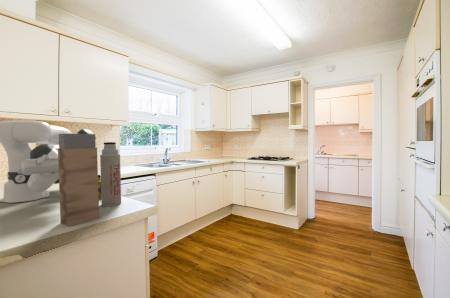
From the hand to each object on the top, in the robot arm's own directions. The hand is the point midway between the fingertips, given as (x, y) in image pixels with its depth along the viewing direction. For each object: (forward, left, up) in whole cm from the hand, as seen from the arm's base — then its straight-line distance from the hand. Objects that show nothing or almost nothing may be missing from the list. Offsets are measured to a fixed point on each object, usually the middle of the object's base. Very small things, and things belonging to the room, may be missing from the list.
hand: (61, 155), depth 87 cm
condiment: (-18, +9, -23) cm, 31 cm away
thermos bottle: (-6, +17, -23) cm, 29 cm away
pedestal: (+13, +7, -23) cm, 27 cm away
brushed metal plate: (+9, +5, +3) cm, 10 cm away
